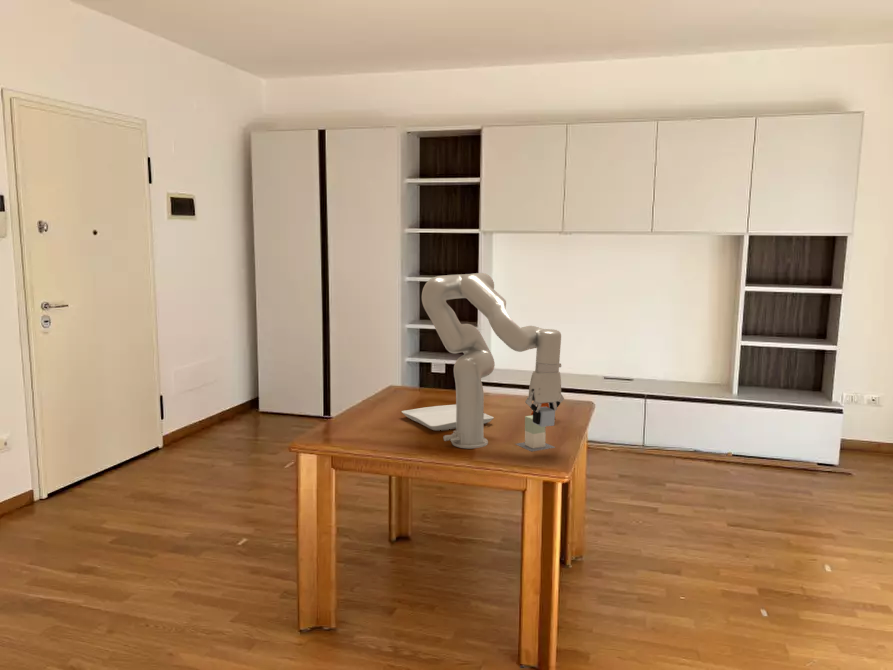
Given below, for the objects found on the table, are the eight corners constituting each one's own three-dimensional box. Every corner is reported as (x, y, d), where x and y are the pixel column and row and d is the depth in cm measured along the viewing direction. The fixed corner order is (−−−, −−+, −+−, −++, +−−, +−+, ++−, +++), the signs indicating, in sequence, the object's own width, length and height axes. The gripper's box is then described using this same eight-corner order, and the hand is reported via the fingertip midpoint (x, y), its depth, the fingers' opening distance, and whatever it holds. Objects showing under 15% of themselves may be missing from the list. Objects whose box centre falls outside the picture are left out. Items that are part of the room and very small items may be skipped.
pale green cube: (533, 434, 235) (533, 419, 234) (524, 430, 239) (525, 416, 239) (545, 432, 237) (545, 417, 237) (536, 428, 242) (536, 414, 241)
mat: (531, 452, 232) (531, 451, 232) (514, 444, 241) (514, 443, 241) (555, 448, 237) (555, 447, 237) (538, 441, 246) (538, 439, 246)
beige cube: (533, 448, 236) (533, 434, 235) (524, 444, 240) (525, 430, 239) (545, 446, 238) (545, 432, 237) (536, 442, 242) (536, 428, 242)
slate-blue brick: (541, 426, 224) (542, 411, 223) (532, 422, 229) (533, 407, 228) (554, 425, 227) (555, 410, 226) (545, 421, 231) (546, 406, 230)
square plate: (495, 426, 267) (495, 416, 266) (431, 436, 254) (431, 425, 253) (459, 411, 290) (460, 402, 290) (400, 419, 277) (400, 409, 277)
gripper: (561, 363, 232) (557, 416, 235) (518, 366, 224) (515, 421, 227) (575, 368, 225) (571, 422, 228) (532, 371, 217) (528, 428, 220)
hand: (543, 421), depth 227 cm, fingers closed on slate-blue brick, 5 cm apart
